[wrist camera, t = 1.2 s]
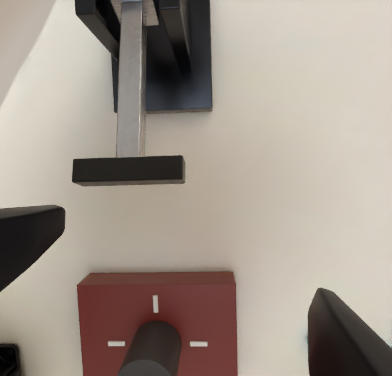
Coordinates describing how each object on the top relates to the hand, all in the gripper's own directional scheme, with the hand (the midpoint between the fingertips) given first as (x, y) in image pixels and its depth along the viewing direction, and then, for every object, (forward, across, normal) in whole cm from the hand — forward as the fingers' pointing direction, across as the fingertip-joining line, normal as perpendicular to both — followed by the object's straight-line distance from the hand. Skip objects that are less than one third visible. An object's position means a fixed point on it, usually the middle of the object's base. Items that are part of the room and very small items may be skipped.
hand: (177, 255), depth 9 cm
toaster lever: (+7, +5, -5) cm, 10 cm away
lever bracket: (+16, +8, -8) cm, 19 cm away
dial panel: (+11, +3, +15) cm, 19 cm away
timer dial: (+9, +2, +14) cm, 17 cm away
